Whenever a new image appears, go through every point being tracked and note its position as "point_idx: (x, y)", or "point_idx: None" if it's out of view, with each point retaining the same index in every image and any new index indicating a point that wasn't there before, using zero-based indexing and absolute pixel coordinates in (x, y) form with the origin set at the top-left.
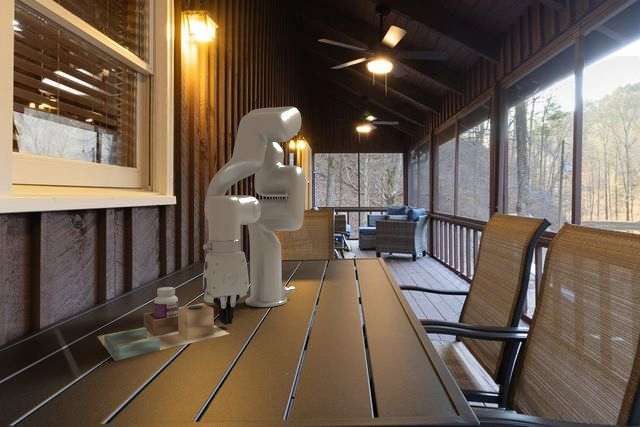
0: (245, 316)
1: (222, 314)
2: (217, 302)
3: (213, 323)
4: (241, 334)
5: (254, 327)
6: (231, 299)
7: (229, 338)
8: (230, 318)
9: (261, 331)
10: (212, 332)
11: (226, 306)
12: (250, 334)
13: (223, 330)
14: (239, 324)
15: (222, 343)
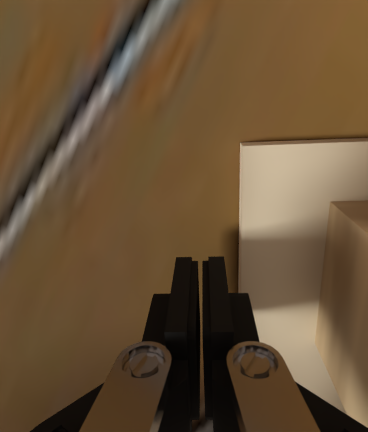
0: (19, 407)
1: (247, 320)
2: (336, 423)
3: (364, 229)
4: (156, 147)
5: (36, 220)
6: (151, 414)
7: (252, 123)
8: (188, 273)
9: (22, 119)
10: (345, 206)
11: (189, 393)
12: (107, 109)
13: (244, 233)
14: (94, 318)
15: (337, 55)
